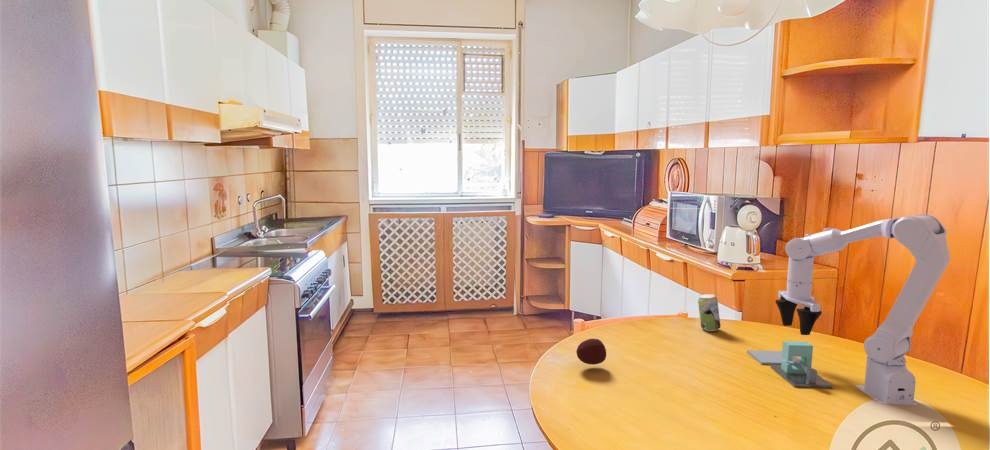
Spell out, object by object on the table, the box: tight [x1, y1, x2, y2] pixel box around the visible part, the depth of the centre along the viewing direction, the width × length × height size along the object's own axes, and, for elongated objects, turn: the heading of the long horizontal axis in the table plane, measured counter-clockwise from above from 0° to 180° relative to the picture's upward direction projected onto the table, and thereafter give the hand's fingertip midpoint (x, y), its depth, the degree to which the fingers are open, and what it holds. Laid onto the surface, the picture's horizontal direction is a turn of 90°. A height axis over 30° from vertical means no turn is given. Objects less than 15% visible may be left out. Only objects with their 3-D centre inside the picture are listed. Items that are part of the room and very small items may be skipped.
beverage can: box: [697, 293, 721, 332], centre depth 162 cm, size 6×7×12 cm
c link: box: [781, 340, 814, 374], centre depth 127 cm, size 3×6×8 cm, turn 86°
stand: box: [770, 356, 833, 389], centre depth 125 cm, size 12×9×4 cm
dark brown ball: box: [576, 338, 607, 365], centre depth 134 cm, size 7×8×7 cm
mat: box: [746, 349, 799, 366], centre depth 138 cm, size 9×12×1 cm
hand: (795, 329), depth 133 cm, fingers open, 7 cm apart
